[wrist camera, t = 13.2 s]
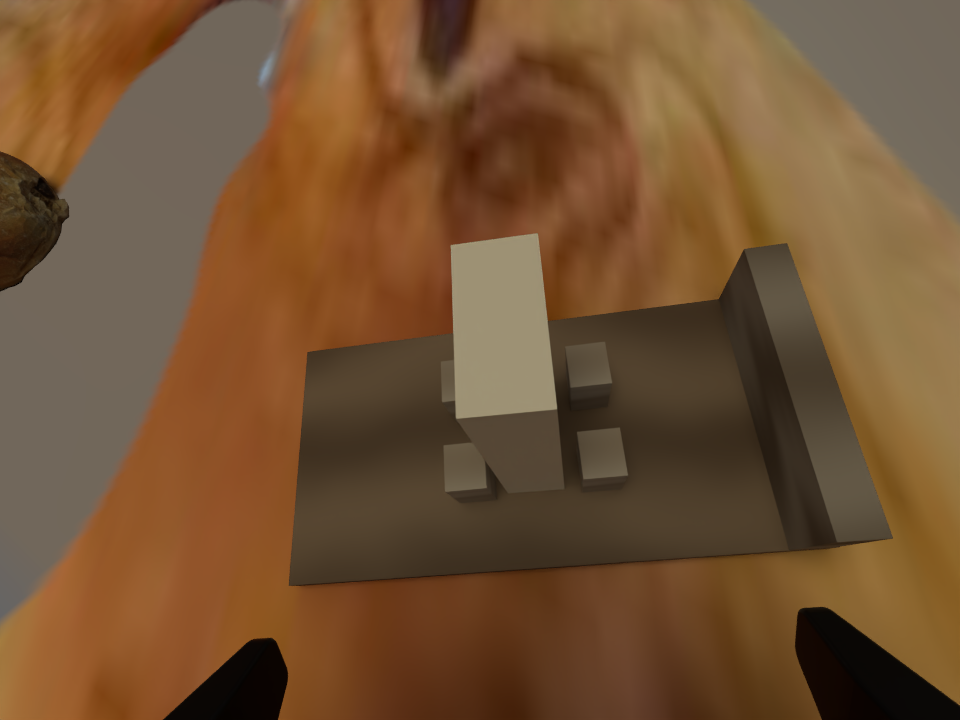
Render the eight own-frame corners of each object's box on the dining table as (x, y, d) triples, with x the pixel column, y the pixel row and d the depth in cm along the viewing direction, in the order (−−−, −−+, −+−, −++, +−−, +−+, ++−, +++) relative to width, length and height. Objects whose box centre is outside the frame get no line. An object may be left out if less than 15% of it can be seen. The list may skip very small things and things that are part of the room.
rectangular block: (564, 489, 22) (557, 409, 12) (489, 494, 23) (423, 422, 13) (552, 379, 24) (537, 233, 14) (483, 386, 25) (422, 248, 15)
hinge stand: (828, 548, 21) (900, 538, 16) (299, 585, 23) (233, 585, 19) (752, 304, 25) (792, 242, 21) (316, 359, 28) (266, 315, 23)
